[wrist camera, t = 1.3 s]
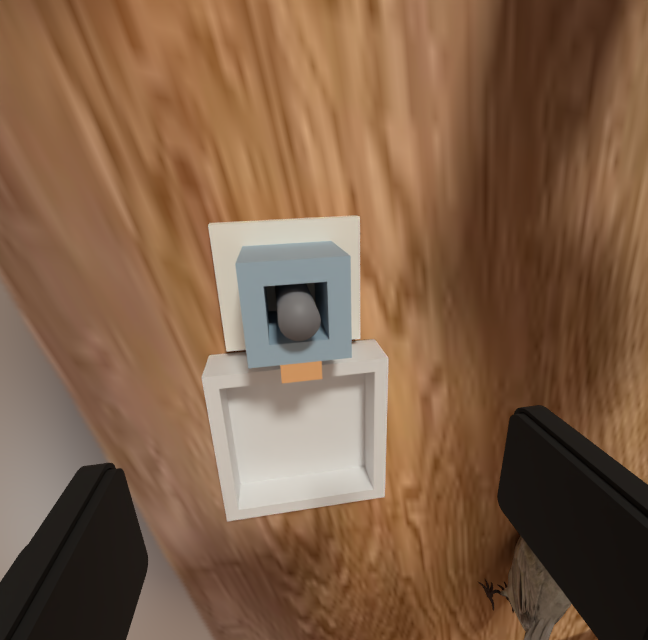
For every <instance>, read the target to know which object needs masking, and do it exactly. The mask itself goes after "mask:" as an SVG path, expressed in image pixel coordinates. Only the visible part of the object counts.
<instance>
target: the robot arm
mask: <svg viewBox="0 0 648 640" xmlns="http://www.w3.org/2000/svg"><path fill="white" fill-rule="evenodd" d="M497 498H498V503H499V506H500V508H501V510H502V511H503V513H504V514H505V515H506V517H507V518H508V519H509V521H510V522H511V523H512V525H513V526H514V527H515V529H516V530H517V531H518V533H519V534H520V535H521V537H522V538H523V539H524V541H525V542H526V543H527V545H528V546H529V547H530V549H531V550H532V551H533V553H534V554H535V555H536V557H537V558H538V559H539V561H540V562H541V563H542V565H543V566H544V567H545V569H546V570H547V571H548V573H549V574H550V575H551V577H552V578H553V579H554V581H555V582H556V583H557V585H558V586H559V587H560V589H561V590H562V591H563V593H564V594H565V595H566V597H567V598H568V599H569V601H570V602H571V603H572V605H573V606H574V607H575V609H576V610H577V611H578V613H579V614H580V615H581V617H582V618H583V619H584V621H585V622H586V623H587V625H588V626H589V627H590V629H591V630H592V631H593V633H594V634H595V635H596V637H597V638H598V639H599V640H648V485H647V484H646V483H645V482H643V481H642V480H641V479H639V478H638V477H637V476H635V475H634V474H633V473H632V472H630V471H629V470H628V469H626V468H625V467H624V466H622V465H621V464H620V463H618V462H617V461H616V460H614V459H613V458H612V457H610V456H609V455H608V454H606V453H605V452H604V451H603V450H601V449H600V448H599V447H597V446H596V445H595V444H593V443H592V442H591V441H589V440H588V439H587V438H585V437H584V436H583V435H581V434H580V433H579V432H578V431H576V430H575V429H574V428H572V427H571V426H570V425H568V424H567V423H566V422H564V421H563V420H562V419H560V418H559V417H558V416H556V415H555V414H554V413H552V412H551V411H550V410H549V409H547V408H546V407H544V406H541V405H537V406H529V407H522V408H518V409H517V410H516V411H515V413H514V415H512V416H511V417H510V420H509V426H508V432H507V438H506V445H505V451H504V457H503V463H502V470H501V476H500V482H499V489H498V496H497ZM147 567H148V555H147V551H146V547H145V544H144V540H143V537H142V533H141V530H140V526H139V523H138V519H137V516H136V512H135V509H134V505H133V502H132V498H131V495H130V491H129V488H128V484H127V481H126V477H125V474H124V471H123V470H122V469H121V468H118V469H116V468H115V465H114V464H113V463H104V464H97V465H89V466H83V467H81V468H80V469H79V470H78V471H77V472H76V474H75V476H74V477H73V478H72V480H71V481H70V483H69V484H68V486H67V487H66V489H65V490H64V492H63V493H62V495H61V496H60V498H59V499H58V501H57V502H56V504H55V505H54V507H53V508H52V510H51V511H50V513H49V514H48V516H47V517H46V519H45V520H44V522H43V523H42V525H41V526H40V528H39V529H38V531H37V532H36V533H35V535H34V537H33V538H32V539H31V541H30V542H29V544H28V545H27V546H26V547H25V548H24V549H23V550H22V551H21V553H20V554H19V555H18V557H17V558H16V560H15V561H14V563H13V564H12V566H11V567H10V569H9V570H8V572H7V573H6V575H5V576H4V578H3V579H2V581H1V582H0V640H126V638H127V635H128V632H129V628H130V625H131V622H132V619H133V615H134V612H135V609H136V605H137V602H138V599H139V595H140V593H141V589H142V586H143V583H144V580H145V576H146V573H147Z"/></svg>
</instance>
